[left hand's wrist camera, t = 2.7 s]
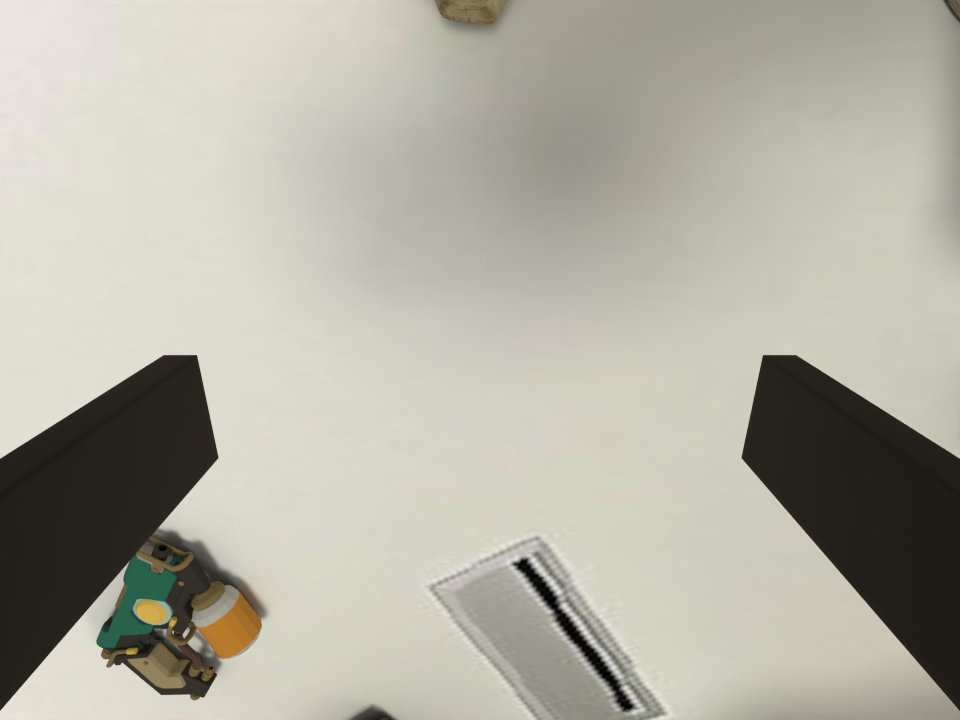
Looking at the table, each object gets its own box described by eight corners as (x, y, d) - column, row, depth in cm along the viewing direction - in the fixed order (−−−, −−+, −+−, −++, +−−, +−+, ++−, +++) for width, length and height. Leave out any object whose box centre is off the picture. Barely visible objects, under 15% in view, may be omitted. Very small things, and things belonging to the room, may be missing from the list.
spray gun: (198, 686, 55) (74, 602, 51) (297, 612, 50) (166, 513, 46) (173, 728, 51) (37, 641, 47) (278, 652, 46) (133, 547, 42)
